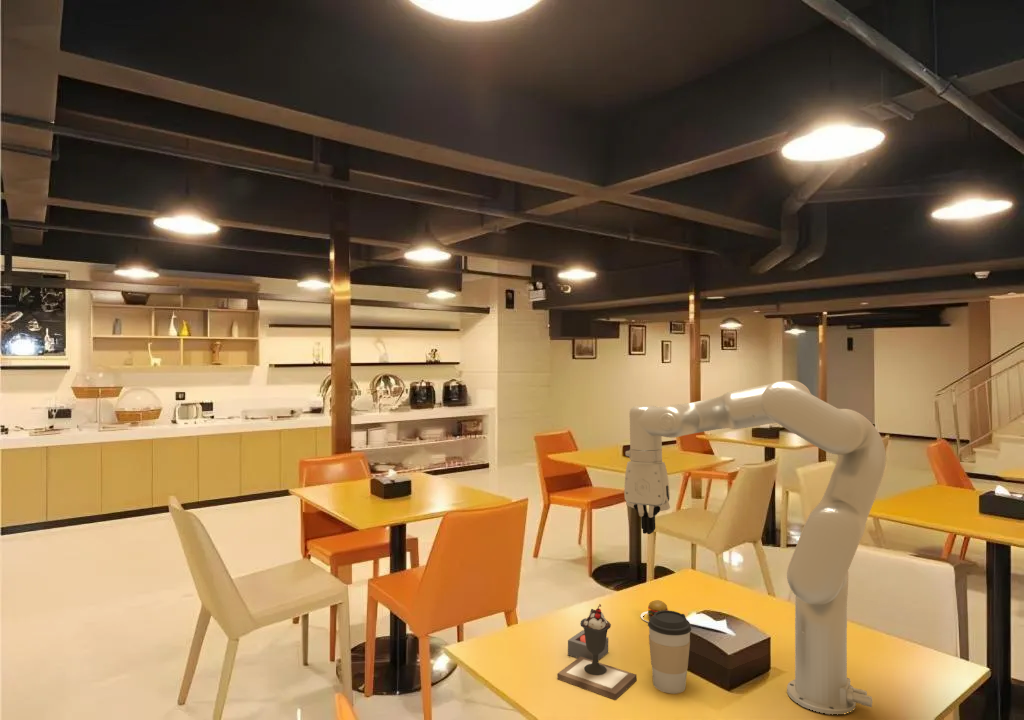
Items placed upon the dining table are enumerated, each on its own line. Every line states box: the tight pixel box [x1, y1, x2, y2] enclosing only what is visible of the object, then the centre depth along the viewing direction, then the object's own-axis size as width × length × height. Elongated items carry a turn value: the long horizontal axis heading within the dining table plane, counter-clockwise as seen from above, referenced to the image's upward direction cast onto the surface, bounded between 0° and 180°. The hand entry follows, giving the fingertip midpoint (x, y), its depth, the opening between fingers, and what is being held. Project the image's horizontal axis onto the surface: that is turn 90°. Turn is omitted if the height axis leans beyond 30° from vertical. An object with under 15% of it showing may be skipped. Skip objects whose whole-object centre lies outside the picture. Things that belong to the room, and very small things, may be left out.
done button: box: [580, 635, 586, 643], centre depth 145 cm, size 4×4×2 cm
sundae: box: [580, 603, 612, 675], centre depth 134 cm, size 7×7×15 cm
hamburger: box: [640, 599, 669, 623], centre depth 166 cm, size 12×12×6 cm
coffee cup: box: [647, 609, 692, 695], centre depth 131 cm, size 9×9×15 cm
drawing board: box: [556, 656, 638, 701], centre depth 132 cm, size 14×10×1 cm
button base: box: [567, 629, 609, 661], centre depth 145 cm, size 7×7×4 cm
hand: (648, 532), depth 148 cm, fingers closed
